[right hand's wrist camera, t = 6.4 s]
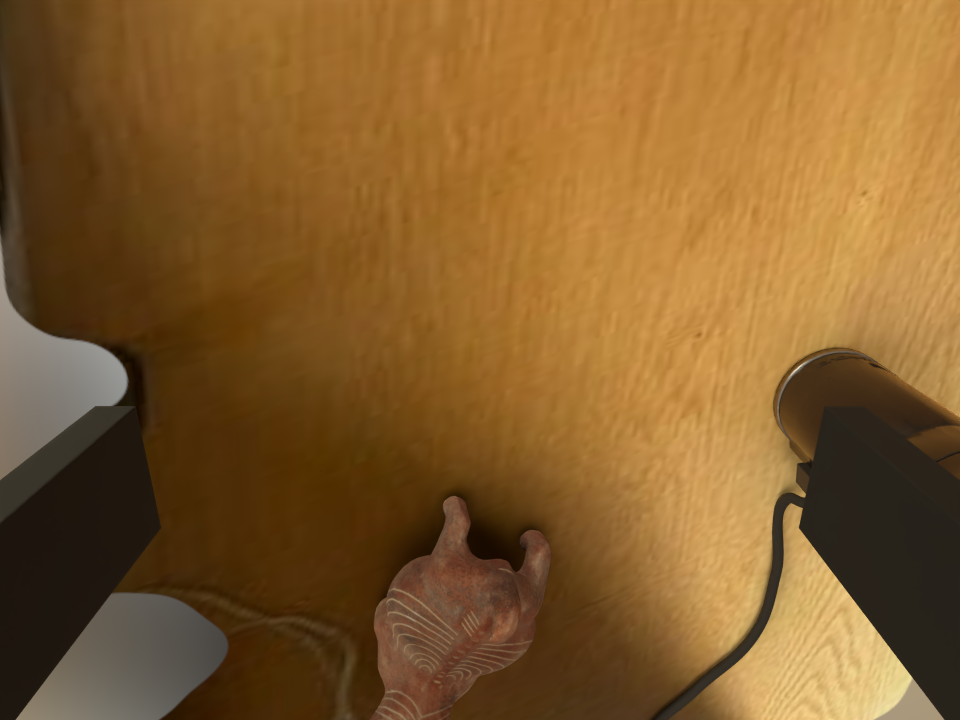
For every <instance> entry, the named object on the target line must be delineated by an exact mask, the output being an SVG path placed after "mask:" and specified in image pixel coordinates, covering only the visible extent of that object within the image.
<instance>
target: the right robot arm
mask: <svg viewBox="0 0 960 720" xmlns="http://www.w3.org/2000/svg"><path fill="white" fill-rule="evenodd" d="M160 529H161V525H160V520H159V516H158V511H157V506H156V501H155V497H154V492H153V487H152V482H151V477H150V473H149V468H148V463H147V458H146V454H145V449H144V444H143V439H142V434H141V430H140V425H139V420H138V415H137V411H136V406H95V407H94V408H93V409H91V410H90V411H89V412H88V413H86V414H85V415H84V416H82V417H81V418H80V419H78V420H77V421H76V422H75V423H73V424H72V425H71V426H69V427H68V428H67V429H66V430H64V431H63V432H62V433H60V434H59V435H58V436H57V437H55V438H54V439H53V440H51V441H50V442H49V443H48V444H46V445H45V446H44V447H42V448H41V449H40V450H39V451H37V452H36V453H35V454H33V455H32V456H31V457H30V458H28V459H27V460H26V461H24V462H23V463H22V464H21V465H19V466H18V467H17V468H15V469H14V470H13V471H12V472H10V473H9V474H8V475H6V476H5V477H4V478H3V479H1V480H0V720H16V718H17V717H18V716H19V714H20V713H21V712H22V710H23V709H24V708H25V706H26V705H27V704H28V702H29V701H30V700H31V699H32V697H33V696H34V695H35V693H36V692H37V691H38V689H39V688H40V687H41V685H42V684H43V683H44V681H45V680H46V679H47V678H48V676H49V675H50V674H51V672H52V671H53V670H54V668H55V667H56V666H57V664H58V663H59V662H60V660H61V659H62V658H63V656H64V655H65V654H66V652H67V651H68V650H69V649H70V647H71V646H72V645H73V643H74V642H75V641H76V639H77V638H78V637H79V635H80V634H81V633H82V631H83V630H84V629H85V627H86V626H87V625H88V623H89V622H90V621H91V619H92V618H93V617H94V616H95V614H96V613H97V612H98V610H99V609H100V608H101V606H102V605H103V604H104V602H105V601H106V600H107V598H108V597H109V596H110V594H111V593H112V592H113V591H114V589H115V588H116V587H117V585H118V584H119V583H120V581H121V580H122V579H123V577H124V576H125V575H126V573H127V572H128V571H129V569H130V568H131V567H132V566H133V564H134V563H135V562H136V560H137V559H138V558H139V556H140V555H141V554H142V552H143V551H144V550H145V548H146V547H147V546H148V544H149V543H150V542H151V540H152V539H153V538H154V537H155V535H156V534H157V533H158V531H159V530H160ZM799 529H800V530H801V531H802V533H803V534H804V535H805V537H806V538H807V539H808V540H809V542H810V543H811V544H812V546H813V547H814V548H815V550H816V551H817V552H818V554H819V555H820V556H821V558H822V559H823V560H824V562H825V563H826V564H827V566H828V567H829V568H830V569H831V571H832V572H833V573H834V575H835V576H836V577H837V579H838V580H839V581H840V583H841V584H842V585H843V587H844V588H845V589H846V591H847V592H848V593H849V594H850V596H851V597H852V598H853V600H854V601H855V602H856V604H857V605H858V606H859V608H860V609H861V610H862V612H863V613H864V614H865V616H866V617H867V618H868V620H869V621H870V622H871V623H872V625H873V626H874V627H875V629H876V630H877V631H878V633H879V634H880V635H881V637H882V638H883V639H884V641H885V642H886V643H887V645H888V646H889V647H890V649H891V650H892V651H893V652H894V654H895V655H896V656H897V658H898V659H899V660H900V662H901V663H902V664H903V666H904V667H905V668H906V670H907V671H908V672H909V674H910V675H911V676H912V678H913V679H914V680H915V681H916V683H917V684H918V685H919V687H920V688H921V689H922V691H923V692H924V693H925V695H926V696H927V697H928V698H929V700H930V701H931V703H932V704H933V705H934V706H935V708H936V709H937V710H938V712H939V713H940V714H941V716H942V717H943V718H944V720H960V480H959V479H958V478H956V477H955V476H954V475H952V474H951V473H950V472H949V471H947V470H946V469H945V468H943V467H942V466H941V465H940V464H938V463H937V462H936V461H934V460H933V459H932V458H930V457H929V456H928V455H927V454H925V453H924V452H923V451H921V450H920V449H919V448H918V447H916V446H915V445H914V444H912V443H911V442H910V441H909V440H907V439H906V438H905V437H903V436H902V435H901V434H900V433H898V432H897V431H896V430H894V429H893V428H892V427H891V426H889V425H888V424H887V423H885V422H884V421H883V420H882V419H880V418H879V417H878V416H876V415H875V414H874V413H873V412H871V411H870V410H869V409H867V408H866V407H865V406H824V410H823V415H822V420H821V425H820V430H819V434H818V439H817V444H816V449H815V454H814V458H813V463H812V468H811V473H810V477H809V482H808V487H807V492H806V497H805V501H804V506H803V511H802V516H801V520H800V525H799Z"/></svg>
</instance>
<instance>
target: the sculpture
mask: <svg viewBox="0 0 960 720" xmlns="http://www.w3.org/2000/svg"><path fill="white" fill-rule="evenodd" d="M443 510H444V513H445V516H446V520H445V524H444V527H443V530H442V532H441V534H440V537H439V539H438V542H437V544H436V546H435V548H434V550H433V552H432V554H431V555H427V556H422V557H419V558H416V559H414V560H412V561H411V562H409V563H408V564H406V565H405V566H404V567H403V568H402V569H401V570H400V572H399V573H398V574H397V575H396V577H395V578H394V580H393V581H392V582H391V585H390V587H389V590H388V594H387V597H386V598H385V599H383V600H382V601H381V602H380V603H379V605H378V606H377V608H376V612H375V619H374V629H375V633H376V636H377V640H378V670H379V673H380V675H381V678H382V680H383V683H384V686H385V695H384V697H383V699H382V701H381V703H380V705H379V707H378V709H377V710H376V712H375V713H374V714H373V716H372V718H371V720H449V718H450V711H451V708H452V705H453V704H454V702H455V701H457V700H458V699H459V698H460V697H462V696H463V695H464V694H465V693H466V692H467V691H468V690H469V689H470V687H471V686H472V685H473V683H474V682H475V681H476V679H477V678H478V677H479V676H480V675H484V674H489V673H492V672H495V671H498V670H501V669H503V668H505V667H507V666H509V665H510V664H512V663H513V662H515V661H516V660H517V659H519V658H520V657H521V656H523V654H524V653H525V652H526V651H527V650H528V648H529V647H530V645H531V643H532V640H533V639H534V634H535V619H534V617H535V616H536V615H537V614H538V612H539V609H540V607H541V604H542V602H543V598H544V593H545V588H546V583H547V577H548V573H549V567H550V561H551V550H550V546H549V543H548V542H547V540H546V539H545V537H544V536H543V534H542V533H541V532H540V531H536V530H528V531H527V532H525V533H524V534H523V535H522V536H521V537H520V544H521V546H522V548H523V549H524V550H526V556H525V560H524V563H523V566H522V567H521V569H520V570H519V571H518V572H515V571H514V570H513V569H512V567H511V565H510V563H509V562H508V561H506V560H502V559H491V560H482V559H479V558H477V557H476V556H474V555H473V554H472V553H471V551H470V549H469V546H468V544H467V535H468V531H469V528H470V525H471V521H470V516H469V512H468V509H467V505H466V502H465V501H464V500H463V499H461V498H459V497H456V496H451V497H449V498H447V499H446V500H445V501H444V504H443Z"/></svg>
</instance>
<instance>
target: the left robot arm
mask: <svg viewBox="0 0 960 720" xmlns="http://www.w3.org/2000/svg"><path fill="white" fill-rule="evenodd" d="M877 363H878V362H877ZM877 363H876V361H874V360H873V359H871V358H870V357H868V356H866V355H865V354H863V353H861V352H858V351H855V350H851V349H845V348H833V349H827V350H823V351H819V352H816V353H814V354H812V355H810V356H808V357H806V358H804V359H803V360H801V361H800V362H798V363H797V364H796V365H795V366H794V367H792V368H791V369H790V371H789V372H788V373H787V374H786V375H785V376H784V378H783V379H782V381H781V383H780V385H779V387H778V389H777V392H776V395H775V399H774V415H775V419H776V421H777V424H778V426H779V428H780V429H781V430H782V432H783V433H784V434H785V435H786V436H787V437H788V438H789V439H790V448H791V449H792V450H793V451H794V453H795V454H796V455H797V456H798V457H799V458H800V459H801V460H802V461H803V462H804V463H798V464H797V473H796V483H797V484H798V485H799V486H800V487H801V488H802V490H803V491H804V492H805V493H806V492H807V487H808V482H809V477H810V473H811V468H812V463H813V458H814V454H815V449H816V444H817V439H818V434H819V430H820V425H821V420H822V415H823V410H824V406H865V407H866V408H867V409H869V410H870V411H871V412H873V413H874V414H875V415H876V416H878V417H879V418H880V419H882V420H883V421H884V422H885V423H887V424H888V425H889V426H891V427H892V428H893V429H894V430H896V431H897V432H898V433H900V434H901V435H902V436H903V437H905V438H906V439H907V440H909V441H910V442H911V443H912V444H914V445H915V446H916V447H918V448H919V449H920V450H921V451H923V452H924V453H925V454H927V455H928V456H929V457H930V458H932V459H933V460H934V461H936V462H937V463H938V464H940V465H941V466H942V467H943V468H945V469H946V470H947V471H949V472H950V473H951V474H952V475H954V476H955V477H956V478H958V479H959V480H960V417H958V416H957V415H955V414H954V413H952V412H951V411H949V410H947V409H946V408H944V407H943V406H941V405H940V404H938V403H937V402H935V401H934V400H932V399H930V398H929V397H927V396H926V395H924V394H923V393H921V392H920V391H918V390H917V389H915V388H913V387H912V386H910V385H909V384H907V383H906V382H904V381H903V380H901V379H900V378H898V376H897V377H896V376H895V374H894V373H893V374H894V375H893V374H892V372H891V371H890V372H891V373H890V372H889V371H887V370H888V369H887V370H886V369H884V368H885V367H884V368H883V367H881V366H882V365H881V364H880V365H881V366H880V365H878V364H879V363H878V364H877ZM804 501H805V498H803V497H800V496H798V495H796V494H794V493H786V494H784V495H782V496H781V497H780V498H779V499H778V501H777V503H776V505H775V508H774V514H773V526H772V538H773V564H772V570H771V574H770V578H769V583H768V587H767V592H766V596H765V600H764V604H763V607H762V610H761V613H760V615H759V617H758V619H757V621H756V623H755V625H754V627H753V628H752V630H751V631H750V633H749V634H748V636H747V637H746V638H745V640H744V641H743V642H742V643H741V644H740V645H739V646H738V648H737V649H736V650H734V651H733V652H732V653H731V654H730V655H729V656H728V657H727V658H725V659H724V660H723V661H722V662H720V663H719V664H718V665H717V666H715V667H714V668H713V669H711V670H710V671H709V672H708V673H707V674H705V675H704V676H703V677H702V678H701V679H699V680H698V681H697V682H696V683H695V684H694V685H693V686H692V687H691V688H690V689H689V690H688V691H686V692H685V693H684V694H683V695H682V696H681V697H679V698H678V699H677V700H676V701H674V702H673V703H672V704H671V705H669V706H668V707H667V708H666V709H664V710H663V711H662V712H661V713H660V714H659V715H658V716H657V717H656V718H655V719H654V720H668V719H669V718H670V717H672V716H673V715H674V714H675V713H677V712H678V711H679V710H681V709H682V708H683V707H684V706H686V705H687V704H688V703H689V702H690V701H692V700H693V699H694V698H695V697H696V696H697V695H698V694H699V693H700V692H702V691H703V690H704V689H705V688H706V687H707V686H708V685H709V684H711V683H712V682H713V681H714V680H716V679H717V678H718V677H719V676H721V675H722V674H723V673H725V672H726V671H727V670H728V669H730V668H731V667H732V666H733V665H735V664H736V663H737V662H738V661H739V660H740V659H741V658H742V657H743V656H744V655H745V654H746V653H747V652H748V651H749V650H750V649H751V648H752V646H753V645H754V644H755V642H756V641H757V640H758V638H759V637H760V635H761V633H762V632H763V630H764V628H765V626H766V624H767V622H768V620H769V617H770V615H771V612H772V609H773V606H774V602H775V598H776V594H777V590H778V586H779V581H780V577H781V573H782V568H783V556H784V549H783V515H784V511H785V509H786V507H787V506H788V505H789V504H790V503H792V504H794V505H796V506H799V507H801V508H803V506H804Z"/></svg>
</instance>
